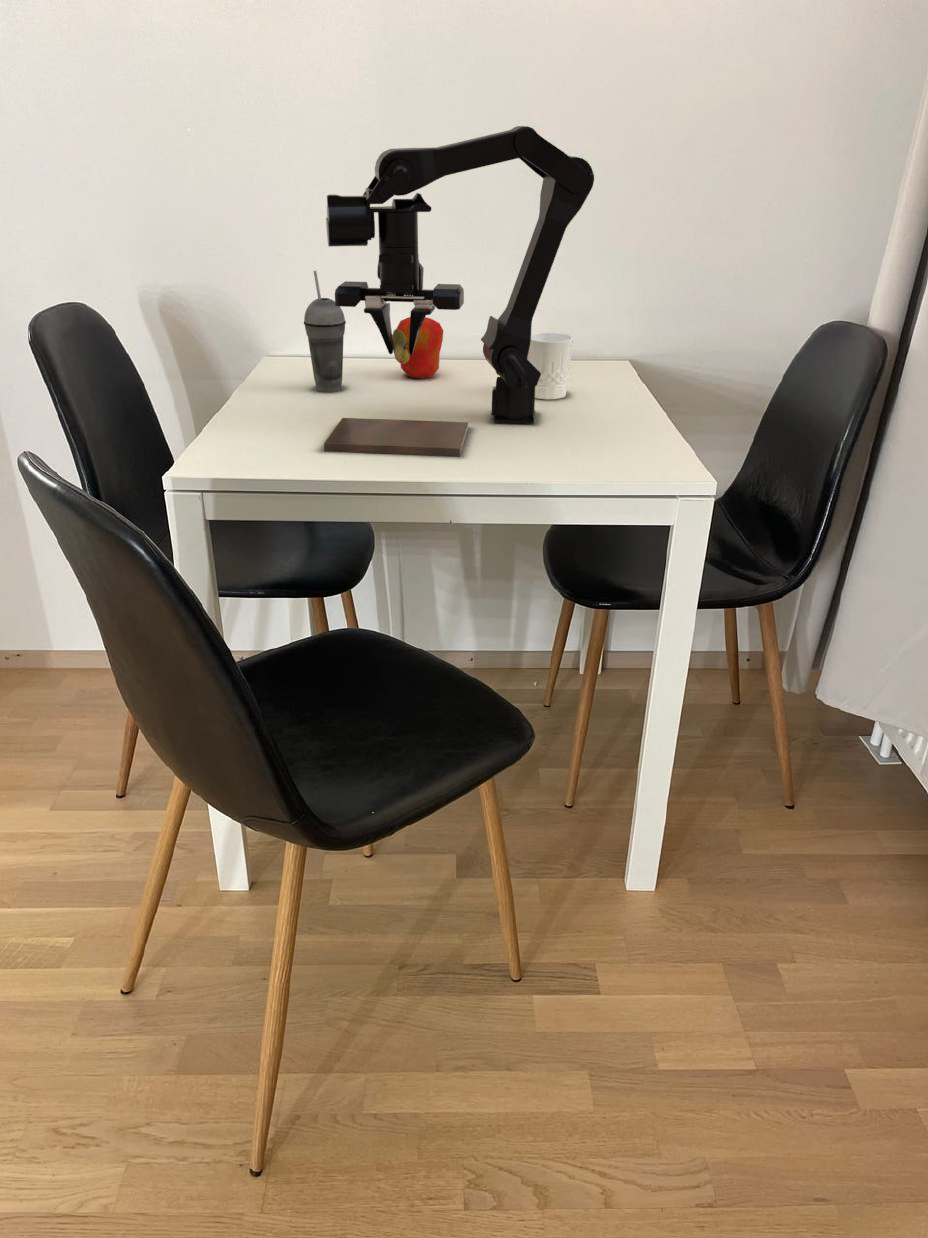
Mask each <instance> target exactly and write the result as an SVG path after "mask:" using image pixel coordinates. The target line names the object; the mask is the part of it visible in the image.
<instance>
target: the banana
mask: <svg viewBox="0 0 928 1238" xmlns="http://www.w3.org/2000/svg"><path fill="white" fill-rule="evenodd" d="M392 338H393V356H394V359H395V360H396V362H397V363H398V364H399V365H401V364H405V363H407V362H408V360H409V358H410V353H409V349H408V345H407V341H406V337H405V335H404V333H403V332H402V331H401V330H400V329H397V328H395V329H394V330H393V331H392Z"/></svg>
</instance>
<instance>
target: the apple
mask: <svg viewBox="0 0 928 1238" xmlns="http://www.w3.org/2000/svg"><path fill="white" fill-rule="evenodd" d="M396 329H400V330H401V331H402V332H403V333H404V335H405V337H406V341H407V345H408V349H409V334H410V316H409V317H406V318H404V319H401V320H400V321H399V323H398V325H397V327H396ZM443 340H444V329H443V327H442V325H441V323H440V322H438V321H436V320H435V319H433V318H430V317H427V316H425V318H424V321H423V323H422V325H421V328H420V331H419V335H418V338H417V342H416V345H415V349H414V352H413V354H412V355H410V358H409V360H408V362H407V363H405V364H400V369H401V370H402V371H403V372H404V373H405V374H406V375H407V376H408V377H411V378H415V379H427V378H432V377H434V376H435V374H436V373H437V372H438V370H439V369H440V357H441V355H440V354H441V349H442V345H443Z"/></svg>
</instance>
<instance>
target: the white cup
mask: <svg viewBox="0 0 928 1238" xmlns="http://www.w3.org/2000/svg"><path fill="white" fill-rule="evenodd" d="M573 341H574V336H572V335H570V334H567V333H563V332H556V331H555V332H553V331H543V332H542V331H541V332H534V333H533V332H532V333H531V343H530V348H529V353H528V358H527V360H528V361H529V362H530V363H531V364H532V365H533V366H534V367H535V368H536V369H537V370H538V371H539V372H540V373H541V376H540V378H539V381H538V383H537V386H536V387H535V399H540V400H559V399H562V398H564V397H566V395H567V388H568V381H569V376H570V369H571V368H570V366H571V362H572V361H571V360H572V351H573V344H574V343H573Z"/></svg>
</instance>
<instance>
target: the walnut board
mask: <svg viewBox="0 0 928 1238" xmlns="http://www.w3.org/2000/svg"><path fill="white" fill-rule="evenodd" d="M468 431H469V422H468V421H448V420H447V421H445V420H444V421H443V420H418V419H417V420H415V419H389V418H385V419H384V418H364V417H363V418H360V417H342V418H341V419H340V421H339V422H338V423H337V424H336V426H335V428H334V429H333V430H332V431H331V432H330V434H329V436H328V437H327V438H326V440H325V441H324V442H323V451H324V452H336V453H337V452H338V453H340V452H341V453H361V454H363V453H364V454H366V453H367V454H386V455H387V454H390V455H413V456H414V455H416V456H441V457H442V456H443V457H461V454H462V451H463V448H464V444H465V441H466V437H467V434H468Z"/></svg>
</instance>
